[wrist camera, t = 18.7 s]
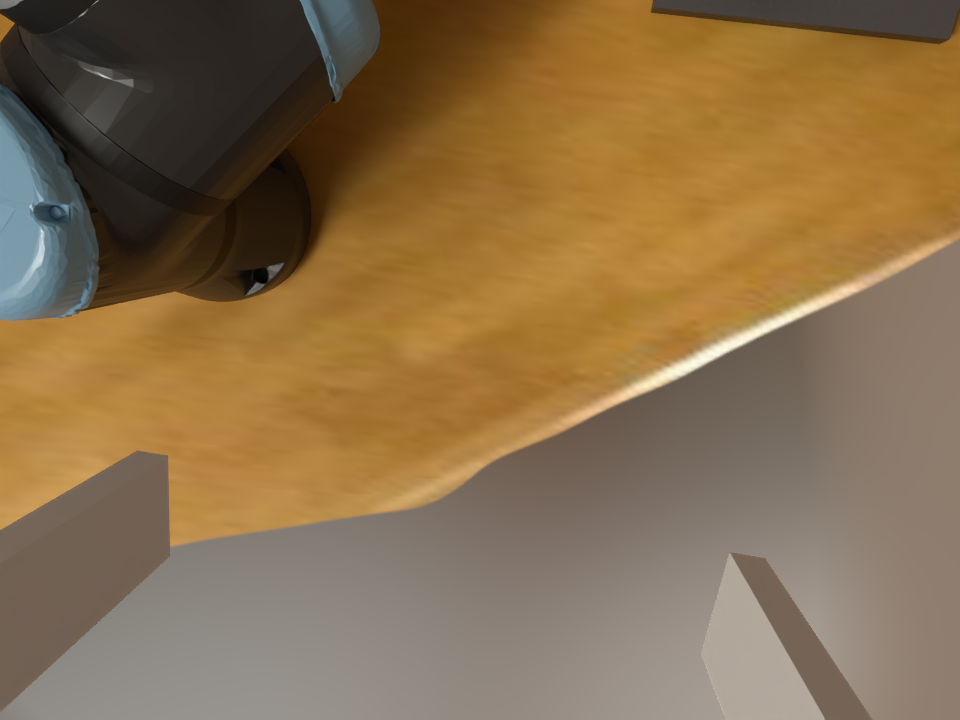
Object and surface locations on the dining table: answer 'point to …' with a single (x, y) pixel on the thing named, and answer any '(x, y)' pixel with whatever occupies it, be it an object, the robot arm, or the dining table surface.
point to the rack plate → (831, 15)
